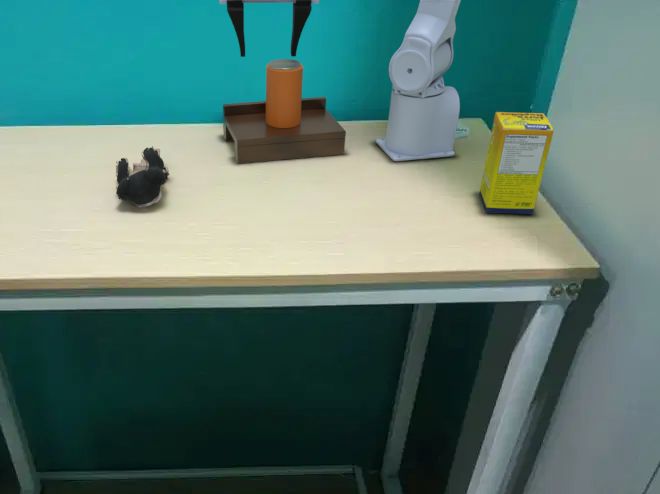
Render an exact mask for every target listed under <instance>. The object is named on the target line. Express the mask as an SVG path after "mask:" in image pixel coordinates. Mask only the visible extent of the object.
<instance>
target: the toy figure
mask: <svg viewBox="0 0 660 494" xmlns="http://www.w3.org/2000/svg"><path fill="white" fill-rule="evenodd" d="M141 157H142V158H141V160H140V162H133V163H132V168H131V166H129V160H128V158H126V157H121V158H120V160H118V161H115V163H116V165H115V176H116V182H117V185H116V192H115V195H116V196H117V197H118V200H121V201H127V200H128V201H129V202H131V203H132V204H133V205H134V206H136V207H137V208H139V209H140V208H141V209H142V208H146V207H149V206H151V205H153V204H156V203H158V202H159V201H160V200H161V199H162V195H163V193H162V186H163V185H164V184H165V183H166V181H167V180H168V179H169V178H168V177H169V176H170V173H169V172H170V171H169V168H168V167H165V162H164V160H163V159H162V157H161V149H160V148H156V147H155V148H154V146H151V147H146V148H144V149H143V150H142V154H141Z"/></svg>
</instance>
